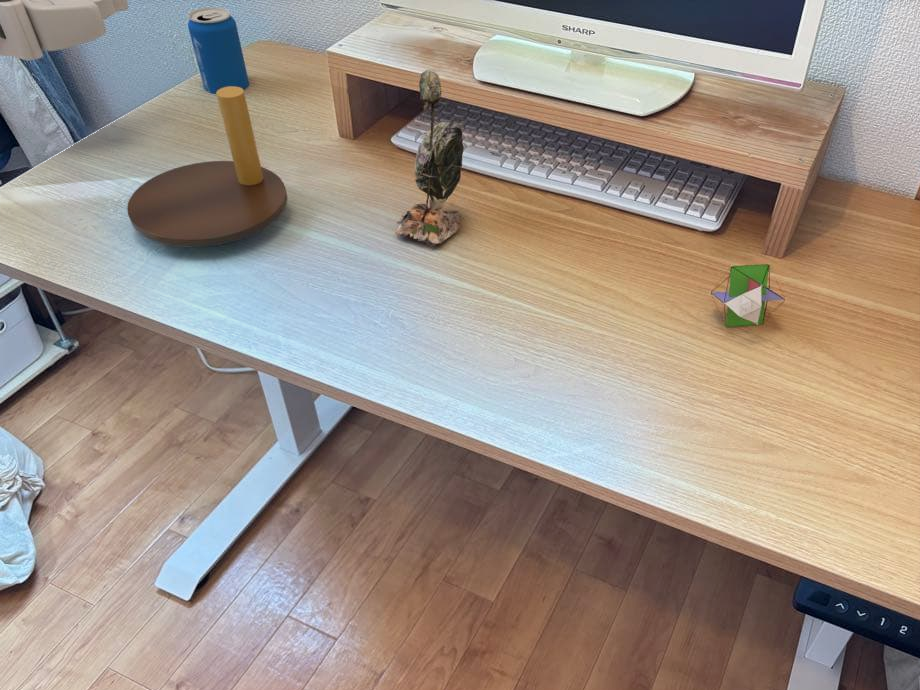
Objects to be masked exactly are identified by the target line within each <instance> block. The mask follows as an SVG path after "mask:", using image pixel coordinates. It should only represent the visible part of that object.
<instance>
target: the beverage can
mask: <svg viewBox="0 0 920 690" xmlns="http://www.w3.org/2000/svg"><path fill="white" fill-rule="evenodd" d="M237 26H238V25H237V22H236V20H235V18H233V16H232V15H231V11H230V10H229V9H226V8H223V7H217V6H216V7H214V6H211V7H209V6H208V7H203V8H198V9H195V10H193V11H190V12H189V13H188V22H187V28H188V31H189V36H190V41H191V44H192V47H193V52H194V55H195V58H196V59H195V60H196V63H197V66H198V71H199V73H200V77H201V78H200V79H201V83H202V85H203V90H204V91H205V92H207V93H209V94H213V95H217V94H216V92H217V91H218V90H219V89H221V88H224V87H229V86H235V87H240V88H242V89H243V90H244V91H245V90H247V88H248V87H250V82H249V77H248V72H247V67H246V62H245V58H244V54H243V53H244V52H243V49H242V44H241V40H240V35H239V32H238V27H237Z"/></svg>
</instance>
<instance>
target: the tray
mask: <svg viewBox="0 0 920 690" xmlns="http://www.w3.org/2000/svg"><path fill="white" fill-rule="evenodd" d="M215 95H216V97H217V102H218V107H219V110H220V114H221V117H222V121H223V125H224V130H225V134H226V138H227V141H228V146H229V150H230V154H231V157H232V160H213V161H202V162H197V163H196V162H195V163H191V164H185V165H182V166H178V167H175V168H172V169H169V170H166V171H164V172H162V173H159V174H157V175H155V176H153V177H152V178H150V179H148V180H146V181H145V182H143V184H141V185H140V186H139V187H138V188H137V189H136V190H135V191H134V192H133V193H132V195H131V196H130V197H129V200H128V203H127V208H126V211H127V216H128V218H129V221H130V223H131V226H132V227H133V229H135V231H137V232H138V233H139V234H140V235H141V236H143V237H145V238H146V239H149V240H151V241H153V242H156V243H160V244H162V245H163V244H164V245H167V246H174V247H175V246H176V247H189V248H191V247H192V248H194V247H195V248H196V247H211V246H216V245H223V244H227V243H231V242H235V241H239V240H242V239H245V238H247V237H249V236H252V235H255V234H257V233H258V232H260V231H262V230H264V229H266V228H268V227H269V226H270V225H271V224H273V223H274V222H275V221H277V220H278V219H279V217H280V216H281V215H282V214H283V212H284V211H285V210H286V206H287V203H288V193H287V188H286V185H285V183H284V182H283V180H282V178H281V177H280V176H278V175H277V174H276V173H275V172H273V171H272V170H270V169H268V168H266V167H263V166H262V165H261V160H260V156H259V151H258V147H257V143H256V139H255V134H254V130H253V126H252V120H251V116H250V111H249V108H248V103H247V99H246V94H245V90H243V89H242V88H240V87H235V86H229V87H224V88H221V89H219V90H218V91H217V92H216V94H215Z"/></svg>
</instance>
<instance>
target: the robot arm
mask: <svg viewBox="0 0 920 690" xmlns="http://www.w3.org/2000/svg"><path fill="white" fill-rule="evenodd" d="M128 2H129V1H128V0H0V56H1V57H4V56H9V57H14V58H17V59H20V60H23V61H25V62H31V61H36V60H40V59H42V58H43V57H44V53H43V51H44V52H54V51H55V52H57V51H61V50H65V49H69V48H72V47H76V46H80V45H83V44H88V43H91V42H93V41H96V40H98V39H100V38H101V37H103V36H104V35H105V34H106V32H107V29H106V26H105V22H104V20H107V19H108V18H110V17H111V16H113V15H114V14H116V13H118V12H124V11H127V10H129V7H130V6H129V3H128Z"/></svg>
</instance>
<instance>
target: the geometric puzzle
mask: <svg viewBox="0 0 920 690" xmlns="http://www.w3.org/2000/svg"><path fill="white" fill-rule="evenodd" d="M728 270H729V275H728V276H727V277H726V279H724V280H723V281H722V282H721V283H720V284H719V282H720V281H718V282H717V284H719V285H716V286H714V287H713V289H712V290H711V291H709V294H710V295H711V297H712V298H713V299H712V300H715V298H716V299H717V300H719V302H721V303H722V304H723V310H724V311H723V312H724V313H726V316H724V318H725V319H724V320H722V321H723V324H724V326H725V328H738V327H753V326H762V327H763V326H764V323H765V322H767V321H768V320H769V318H771V316H769V315H770V313H768V315H766V312H767V306H768V302H772V301H773V302H774V301H782V302H781V304H784V302H785V301H787V299H786V298H785V297H782V296H781V295H779V294H778V293H776V292H775V291H774V290H772V289H771V284H770V283H771V281H770V279H771V278H770V277H771V276H770V275H771V274H770V270H771V271H773V269H772V267H771V263H766V264H765V263H764V264H763V263H762V264H749V265H748V264H745V265H733V264H731V265H730V267H729V268H728ZM726 274H727V272H726V273H724V275H726ZM723 277H724V276H722V277H721V279H723ZM774 279H775V281H776V283H777V284H779V282H778V280H777V279H776V277H774ZM726 280H727V285H726V289H725V291H715V290H716V289H718V288H719V286H721V284H723V283H724V282H725V281H726ZM728 287H729V288H728ZM779 289H780V292H781V293H782V295H783V294H784V293H783V292H782V291H783V290H781V288H779ZM714 297H715V298H714ZM714 303H715V306H716V308H717V309H719V308H718V305H717V303H716V302H714ZM725 306H726V307H727V311H726V307H725ZM780 307H781V305H778V306H777V307H775V308H774V309H773V311H777V310H778V309H779V308H780ZM718 313H719V314H720V317H721V318H723V317H722V314H721V312H720V311H718ZM765 318H768V319H767V320H765ZM724 321H725V322H724Z"/></svg>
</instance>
